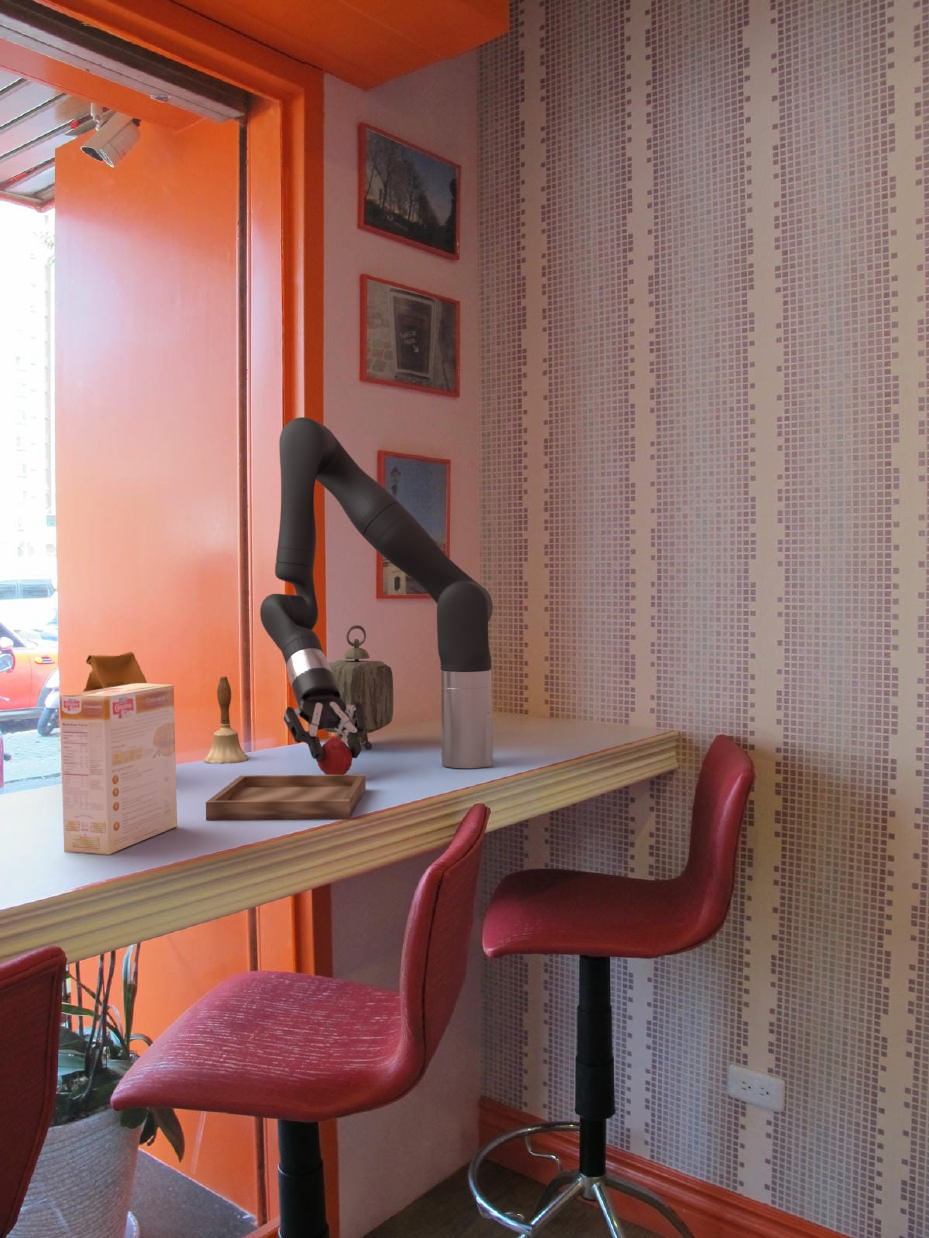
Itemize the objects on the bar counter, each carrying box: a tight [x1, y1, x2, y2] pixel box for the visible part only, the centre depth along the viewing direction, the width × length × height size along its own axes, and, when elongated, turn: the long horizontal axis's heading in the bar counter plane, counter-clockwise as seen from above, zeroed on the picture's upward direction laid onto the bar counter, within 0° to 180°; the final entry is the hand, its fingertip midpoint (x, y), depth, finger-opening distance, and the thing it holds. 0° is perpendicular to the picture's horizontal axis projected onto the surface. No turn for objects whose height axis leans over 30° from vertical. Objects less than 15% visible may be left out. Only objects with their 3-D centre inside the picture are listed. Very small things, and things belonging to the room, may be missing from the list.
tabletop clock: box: [322, 624, 394, 750], centre depth 198 cm, size 14×9×25 cm, turn 154°
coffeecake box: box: [58, 682, 178, 856], centre depth 126 cm, size 15×7×20 cm, turn 163°
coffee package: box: [82, 650, 148, 692], centre depth 164 cm, size 10×12×22 cm
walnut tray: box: [205, 773, 366, 821], centre depth 146 cm, size 20×20×2 cm
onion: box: [317, 732, 353, 775], centre depth 164 cm, size 6×6×8 cm
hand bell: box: [203, 676, 249, 764], centre depth 186 cm, size 8×8×16 cm
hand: (338, 756), depth 163 cm, fingers closed on onion, 5 cm apart
